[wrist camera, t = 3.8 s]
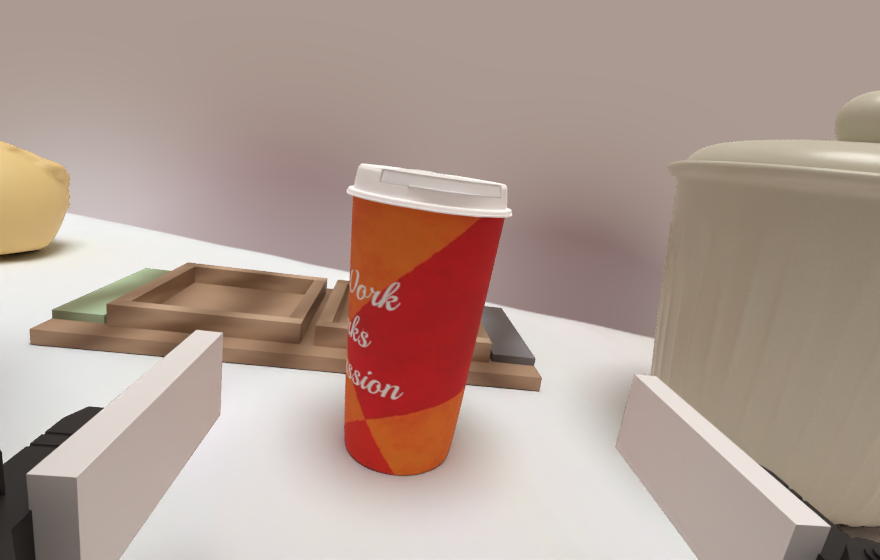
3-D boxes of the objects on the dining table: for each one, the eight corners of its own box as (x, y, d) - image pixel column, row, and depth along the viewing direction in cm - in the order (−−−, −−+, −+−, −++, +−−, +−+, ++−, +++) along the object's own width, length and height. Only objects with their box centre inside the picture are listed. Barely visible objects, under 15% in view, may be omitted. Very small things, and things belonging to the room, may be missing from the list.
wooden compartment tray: (30, 344, 29) (28, 306, 29) (157, 279, 45) (157, 254, 44) (539, 390, 33) (546, 358, 33) (494, 316, 49) (498, 293, 48)
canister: (1105, 676, 17) (1497, 53, 12) (595, 491, 23) (714, 27, 18) (876, 439, 34) (1003, 132, 29) (612, 367, 40) (678, 105, 35)
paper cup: (325, 402, 28) (347, 159, 24) (451, 406, 30) (488, 179, 26) (319, 495, 20) (351, 164, 17) (488, 492, 22) (546, 192, 19)
